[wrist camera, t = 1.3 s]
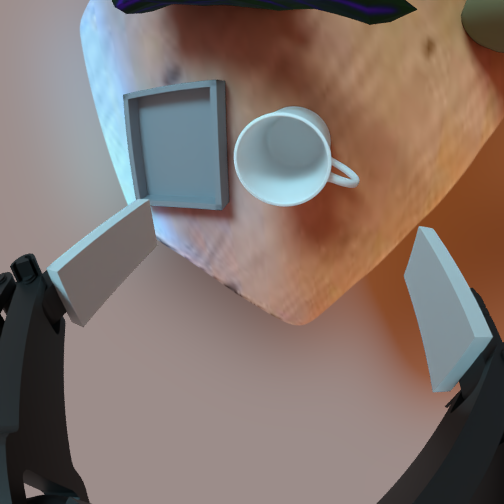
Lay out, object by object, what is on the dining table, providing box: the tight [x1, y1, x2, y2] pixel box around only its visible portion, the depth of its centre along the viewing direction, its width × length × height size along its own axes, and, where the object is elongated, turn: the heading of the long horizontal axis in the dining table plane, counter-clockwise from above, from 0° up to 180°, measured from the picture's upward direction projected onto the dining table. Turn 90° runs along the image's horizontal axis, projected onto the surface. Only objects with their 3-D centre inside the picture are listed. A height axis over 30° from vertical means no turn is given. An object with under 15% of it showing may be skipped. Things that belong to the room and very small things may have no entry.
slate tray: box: [123, 80, 229, 210], centre depth 33 cm, size 14×17×3 cm
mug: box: [234, 106, 359, 206], centre depth 26 cm, size 12×8×12 cm
